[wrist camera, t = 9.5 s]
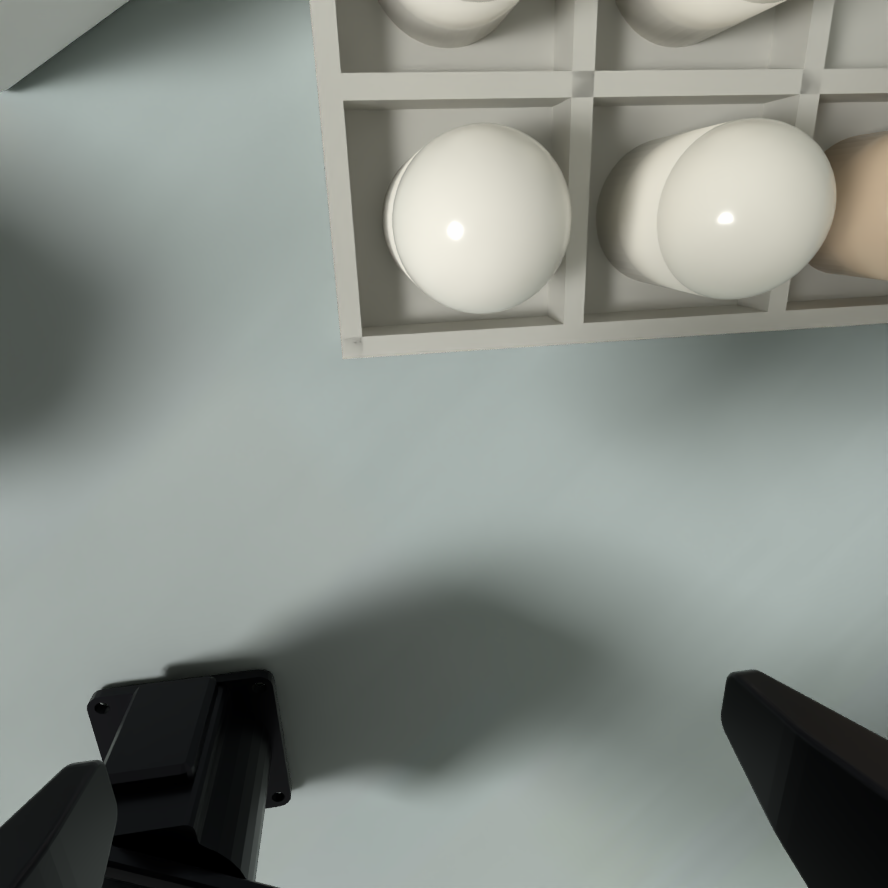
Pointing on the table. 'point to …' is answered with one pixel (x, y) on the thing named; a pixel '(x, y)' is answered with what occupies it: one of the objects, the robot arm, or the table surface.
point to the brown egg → (858, 209)
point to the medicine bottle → (43, 31)
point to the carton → (580, 154)
